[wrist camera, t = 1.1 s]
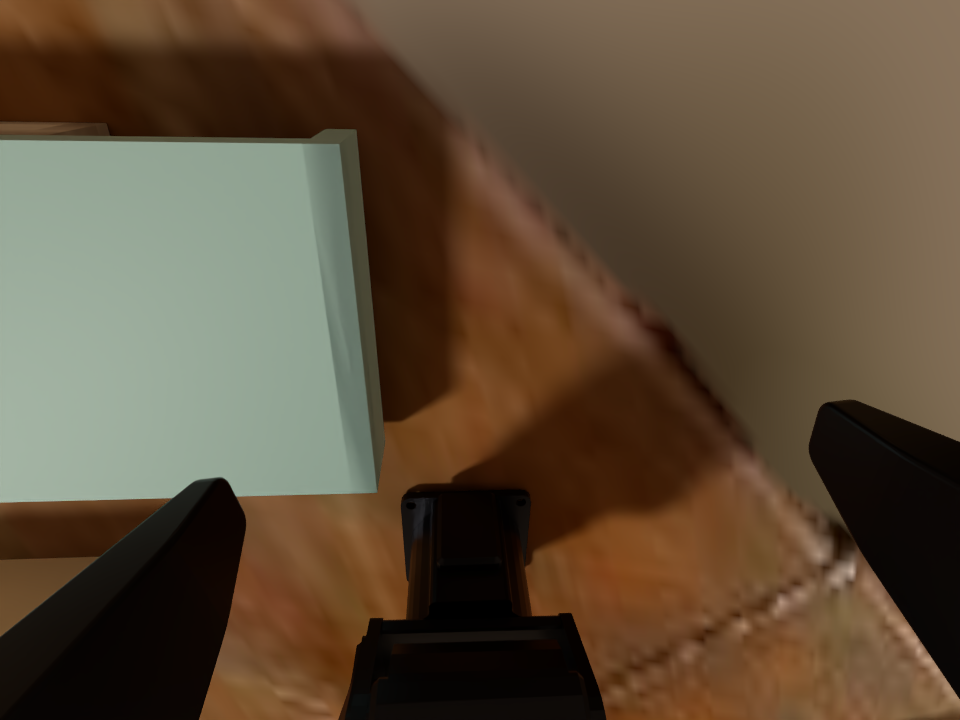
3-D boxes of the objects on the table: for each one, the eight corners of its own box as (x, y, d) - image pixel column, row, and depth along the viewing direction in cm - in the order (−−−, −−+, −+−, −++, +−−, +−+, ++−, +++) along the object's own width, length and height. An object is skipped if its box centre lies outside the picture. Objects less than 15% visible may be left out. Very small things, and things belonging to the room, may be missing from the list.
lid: (385, 441, 24) (377, 492, 21) (-67, 450, 23) (-138, 505, 20) (356, 129, 17) (339, 144, 14) (-283, 120, 16) (-434, 134, 13)
